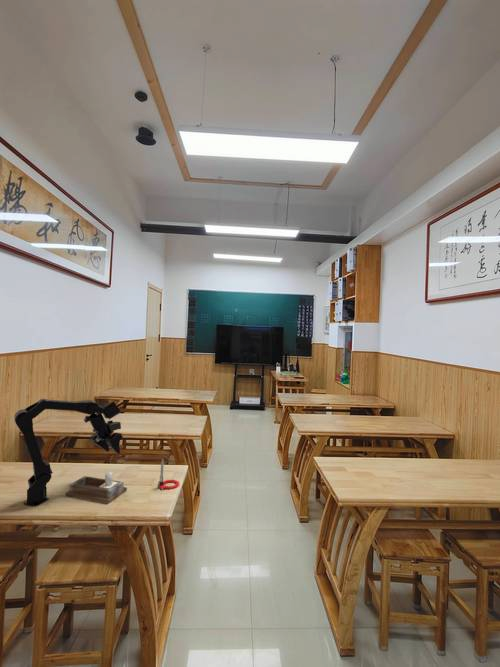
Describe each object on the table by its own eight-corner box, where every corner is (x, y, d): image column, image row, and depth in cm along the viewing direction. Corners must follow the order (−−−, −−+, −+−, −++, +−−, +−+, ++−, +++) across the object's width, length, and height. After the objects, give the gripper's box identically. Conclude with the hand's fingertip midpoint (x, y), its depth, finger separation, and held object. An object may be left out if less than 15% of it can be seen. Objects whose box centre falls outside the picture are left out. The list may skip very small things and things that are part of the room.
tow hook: (176, 481, 160) (157, 483, 156) (178, 454, 160) (159, 456, 156) (181, 488, 152) (160, 491, 148) (182, 460, 152) (162, 462, 148)
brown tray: (108, 503, 136) (108, 493, 136) (65, 496, 142) (65, 485, 142) (126, 490, 148) (126, 480, 148) (86, 484, 154) (86, 474, 154)
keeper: (108, 495, 140) (109, 476, 140) (99, 493, 141) (99, 475, 141) (118, 489, 146) (118, 471, 146) (108, 487, 147) (108, 469, 147)
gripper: (124, 415, 153) (138, 443, 157) (103, 414, 164) (116, 439, 168) (104, 430, 144) (119, 459, 148) (83, 427, 155) (97, 454, 159)
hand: (113, 452), depth 156 cm, fingers open, 9 cm apart
